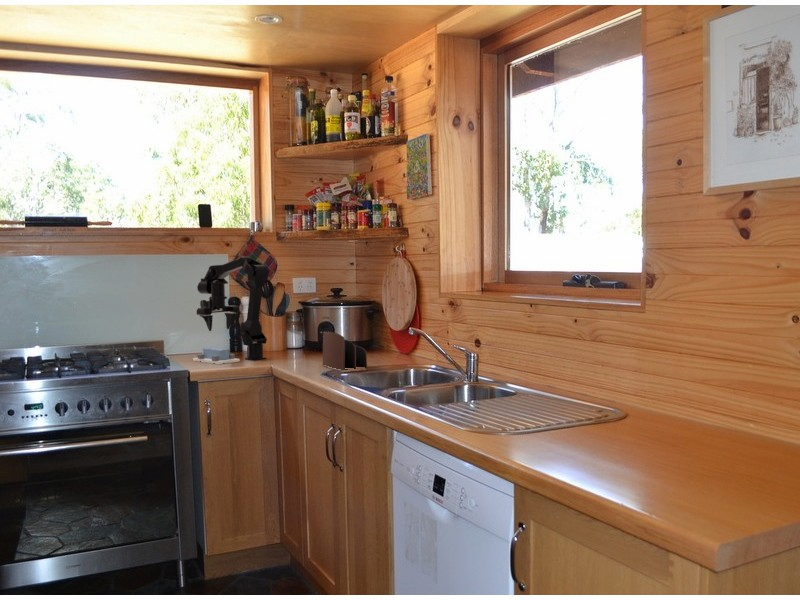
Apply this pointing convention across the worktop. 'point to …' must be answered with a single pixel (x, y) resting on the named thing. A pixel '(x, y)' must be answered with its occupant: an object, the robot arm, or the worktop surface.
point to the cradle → (216, 359)
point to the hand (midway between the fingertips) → (219, 330)
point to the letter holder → (342, 352)
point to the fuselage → (216, 353)
